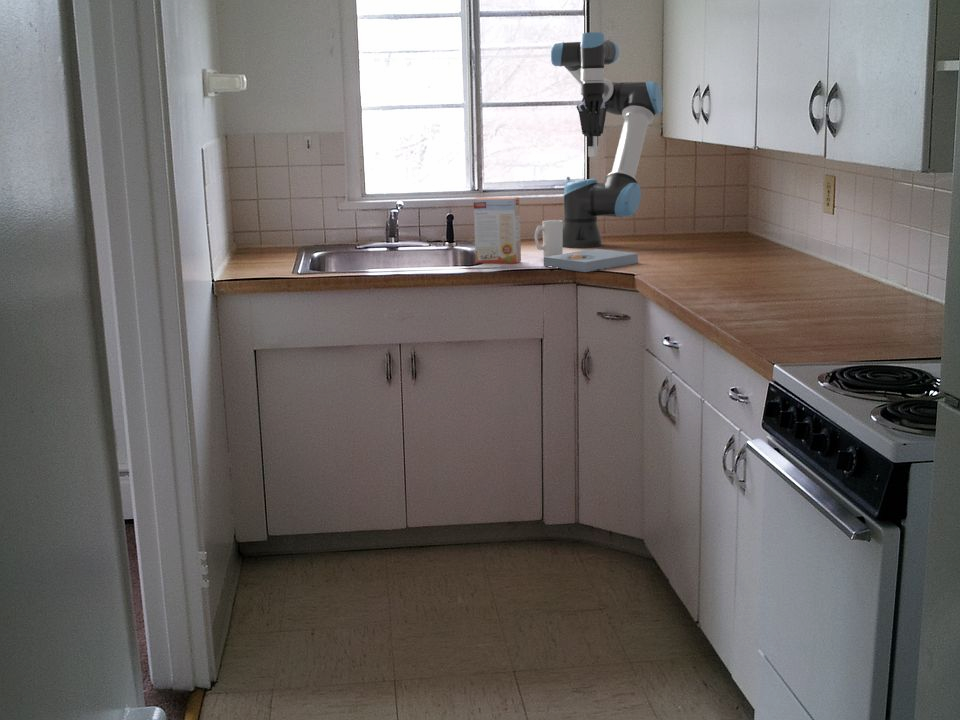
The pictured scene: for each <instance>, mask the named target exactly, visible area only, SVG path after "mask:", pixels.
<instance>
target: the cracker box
mask: <svg viewBox="0 0 960 720" xmlns="http://www.w3.org/2000/svg"><path fill="white" fill-rule="evenodd" d="M520 206H521V205H520V197H501V196H500V197H495V196H494V197H478V198H474V199H473V218H474V219H473V223H474V224H473V226H474V227H473V228H474V230H473V231H474V251H475V252H474V254H475V256H474V257H475V264H507V265H509V264H512V265H513V264H514V265H515V264H518V263H520V262H521V261H522V253H521V251H522V247H521V245H522V243H521V209H520Z"/></svg>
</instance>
